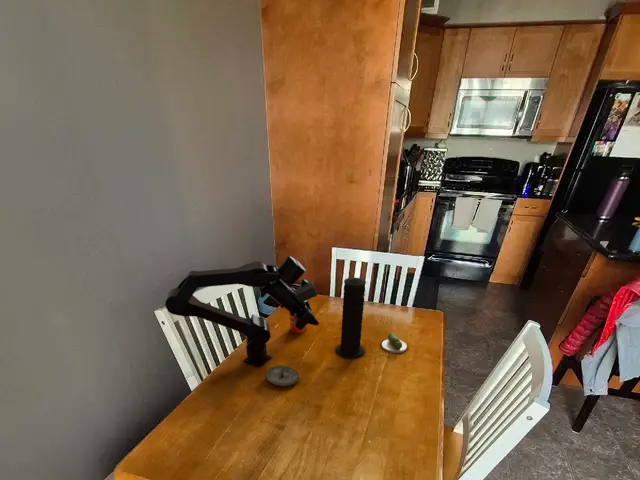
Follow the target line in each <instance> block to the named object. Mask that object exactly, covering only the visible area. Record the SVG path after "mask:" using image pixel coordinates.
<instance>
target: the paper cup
mask: <svg viewBox="0 0 640 480" xmlns="http://www.w3.org/2000/svg"><path fill="white" fill-rule="evenodd" d="M307 301H308V300H306V301H304V302H305V303H306V302H307ZM288 316H289V317H288V318H289V324H290V332H291V333H293V334H302V333H304V332H306V326H307V325H306V326H305V327H304V328H303V329H302V330H299V329H298V328H296V327H295V324H294V317H295V316H296V314H294V315H293V316H291V315H290V313H289V312H288Z"/></svg>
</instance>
